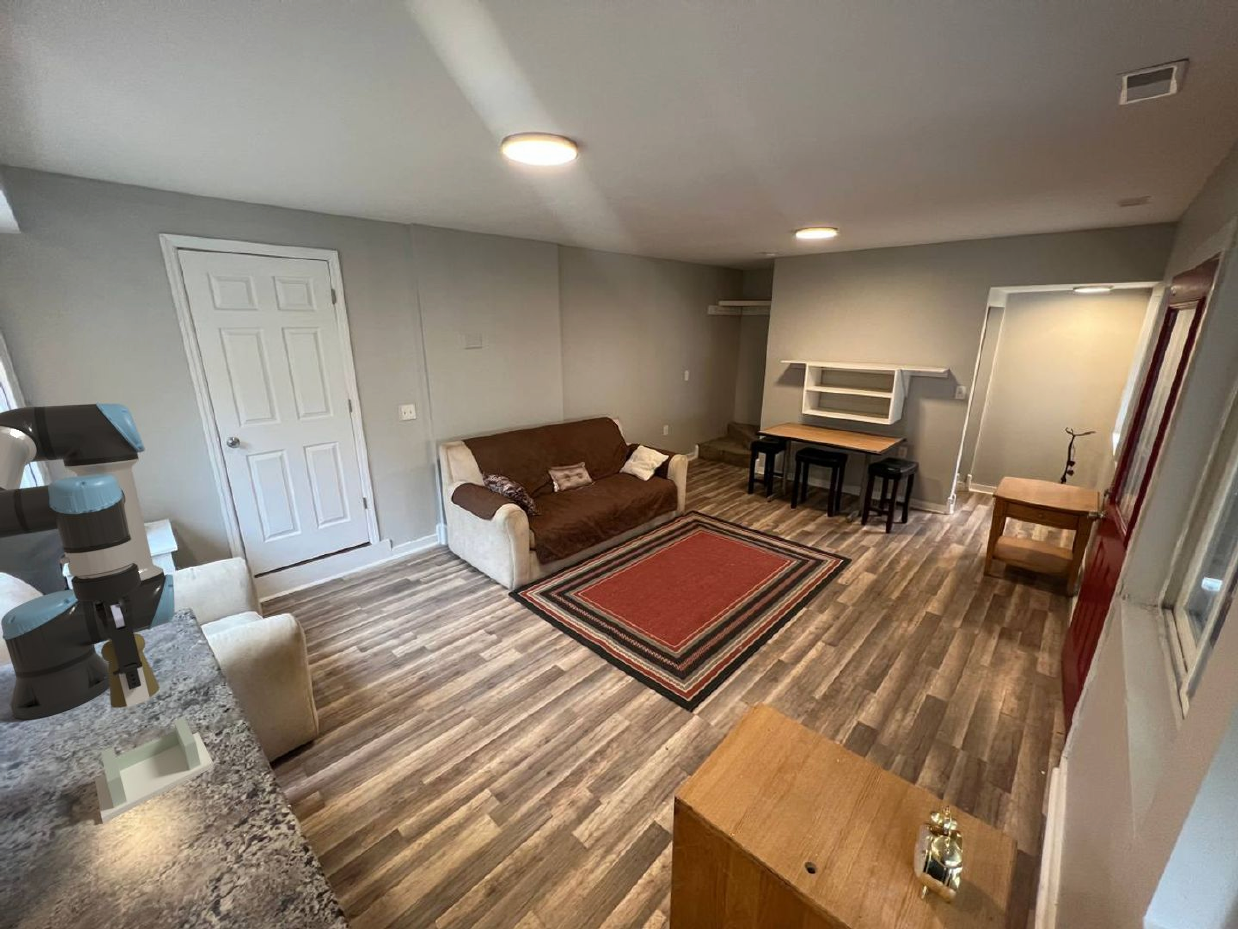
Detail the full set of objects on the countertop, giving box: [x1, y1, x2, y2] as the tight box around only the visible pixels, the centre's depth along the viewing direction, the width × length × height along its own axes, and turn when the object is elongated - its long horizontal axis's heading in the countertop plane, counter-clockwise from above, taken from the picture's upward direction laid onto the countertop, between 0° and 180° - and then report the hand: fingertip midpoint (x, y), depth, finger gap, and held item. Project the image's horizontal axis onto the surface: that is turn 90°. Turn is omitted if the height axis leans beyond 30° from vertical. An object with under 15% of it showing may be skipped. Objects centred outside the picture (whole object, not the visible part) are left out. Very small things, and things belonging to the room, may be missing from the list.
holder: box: [94, 716, 215, 824], centre depth 85 cm, size 12×14×6 cm
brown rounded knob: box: [100, 633, 161, 709], centre depth 81 cm, size 6×6×11 cm
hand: (135, 694), depth 82 cm, fingers closed on brown rounded knob, 6 cm apart
